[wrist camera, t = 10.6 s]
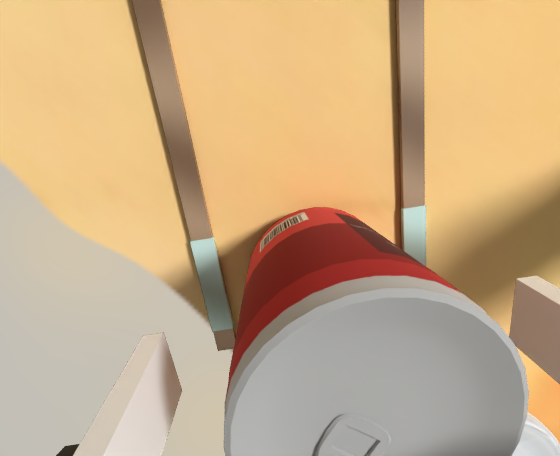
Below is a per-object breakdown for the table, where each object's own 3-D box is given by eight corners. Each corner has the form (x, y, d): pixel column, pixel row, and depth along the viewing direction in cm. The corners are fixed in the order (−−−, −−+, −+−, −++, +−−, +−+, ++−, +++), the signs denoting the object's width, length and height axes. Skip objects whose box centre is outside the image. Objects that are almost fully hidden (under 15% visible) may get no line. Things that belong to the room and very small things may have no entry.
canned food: (235, 314, 19) (191, 530, 8) (267, 188, 17) (266, 248, 6) (352, 339, 19) (457, 568, 9) (395, 221, 18) (591, 325, 7)
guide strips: (92, -164, 12) (87, -172, 12) (420, -211, 12) (425, -221, 12) (224, 372, 20) (223, 376, 20) (423, 341, 20) (426, 345, 20)
